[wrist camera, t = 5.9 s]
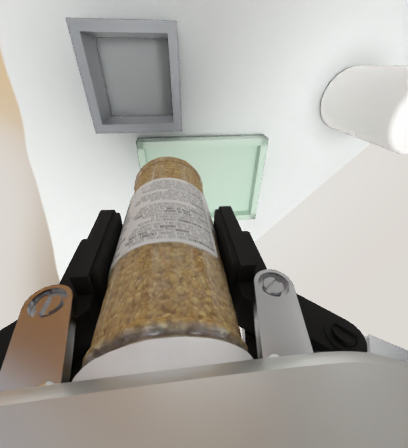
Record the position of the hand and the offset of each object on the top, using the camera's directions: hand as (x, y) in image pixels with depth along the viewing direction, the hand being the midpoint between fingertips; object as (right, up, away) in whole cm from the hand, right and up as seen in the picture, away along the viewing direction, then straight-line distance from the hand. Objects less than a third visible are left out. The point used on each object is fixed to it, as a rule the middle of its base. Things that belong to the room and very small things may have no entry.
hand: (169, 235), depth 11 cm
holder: (-5, +16, +13) cm, 21 cm away
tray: (+1, +7, +21) cm, 22 cm away
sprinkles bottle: (-1, +3, +5) cm, 6 cm away
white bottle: (+19, +16, +17) cm, 31 cm away
